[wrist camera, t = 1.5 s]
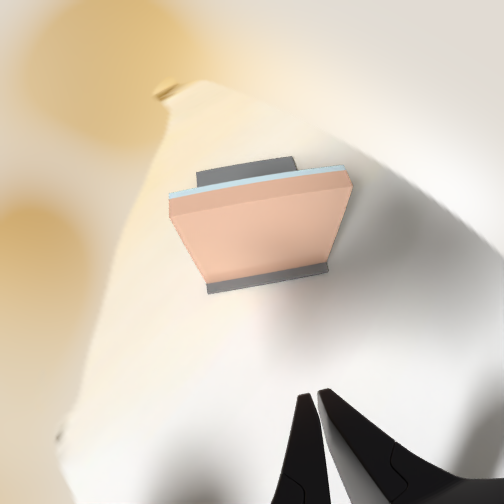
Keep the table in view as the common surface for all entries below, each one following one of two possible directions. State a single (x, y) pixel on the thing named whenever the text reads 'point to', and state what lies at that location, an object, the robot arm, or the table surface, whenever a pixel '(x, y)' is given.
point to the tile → (261, 222)
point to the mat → (242, 173)
